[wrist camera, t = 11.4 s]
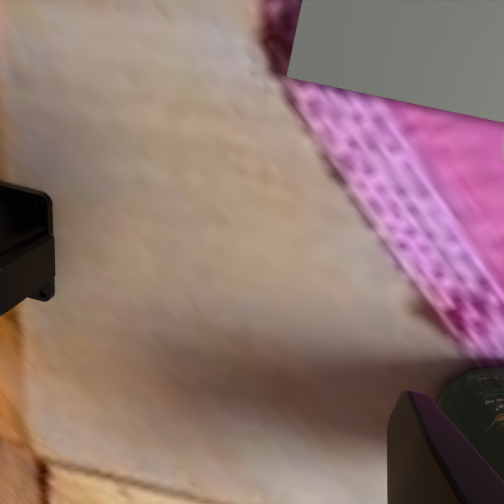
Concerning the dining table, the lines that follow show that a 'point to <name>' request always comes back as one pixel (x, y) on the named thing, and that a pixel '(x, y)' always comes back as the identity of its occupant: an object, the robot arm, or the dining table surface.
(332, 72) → the post plate
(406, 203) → the dining table surface
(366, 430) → the dining table surface
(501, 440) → the coffee jar
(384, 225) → the dining table surface
